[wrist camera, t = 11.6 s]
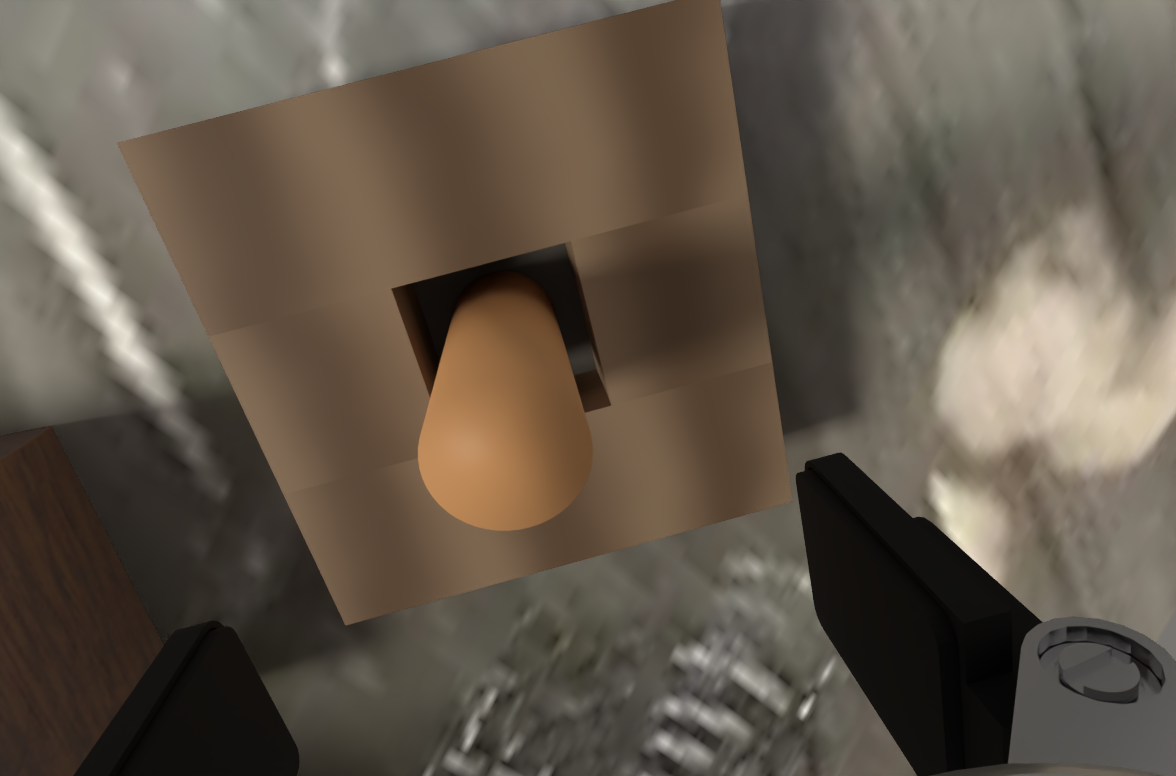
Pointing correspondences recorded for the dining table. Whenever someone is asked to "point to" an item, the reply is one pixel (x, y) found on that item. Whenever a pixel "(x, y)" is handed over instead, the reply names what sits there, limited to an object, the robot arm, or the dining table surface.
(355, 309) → the block
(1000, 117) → the dining table surface
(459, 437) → the pin
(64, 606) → the tissue box cover
